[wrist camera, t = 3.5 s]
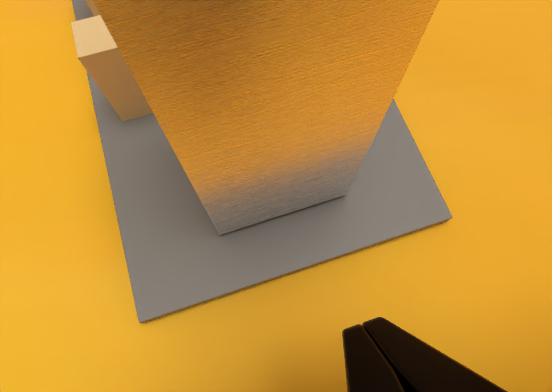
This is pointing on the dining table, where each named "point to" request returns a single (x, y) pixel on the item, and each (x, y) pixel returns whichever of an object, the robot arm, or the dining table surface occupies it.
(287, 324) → the dining table surface
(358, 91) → the pillar on grey plate
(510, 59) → the dining table surface
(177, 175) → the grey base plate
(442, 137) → the dining table surface
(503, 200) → the dining table surface
